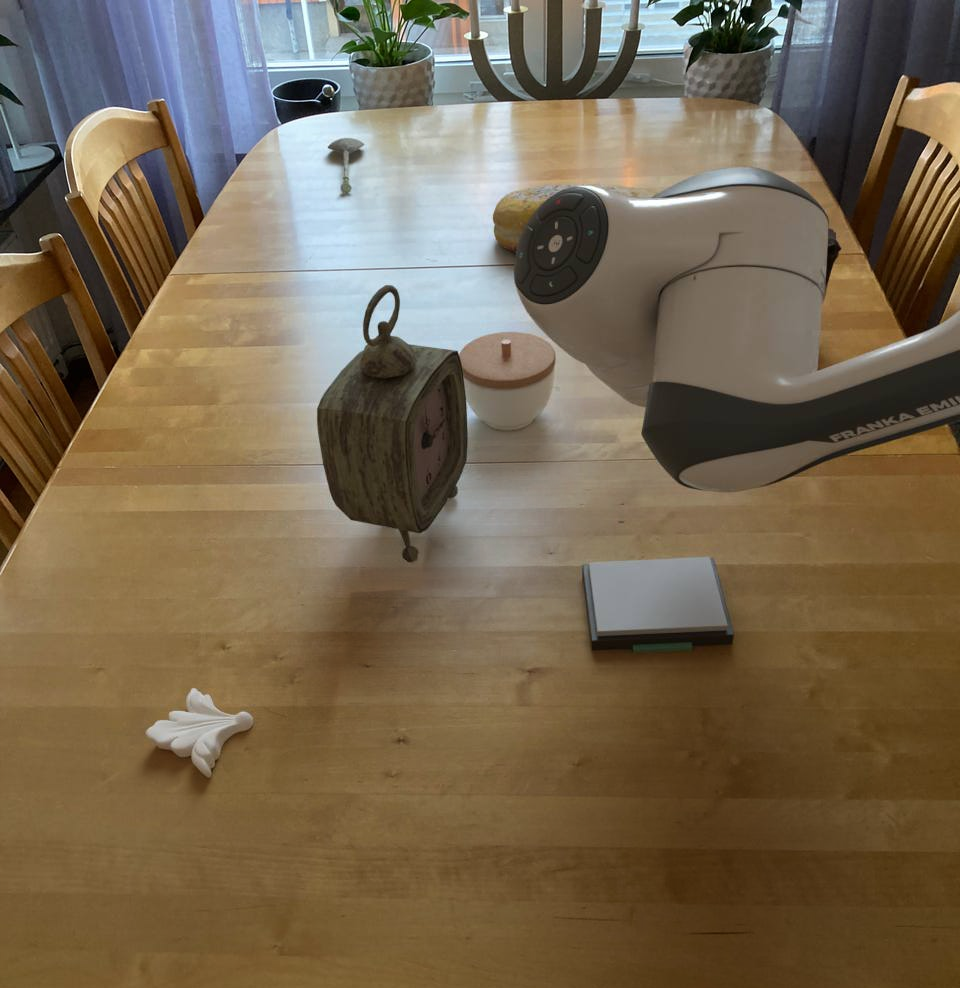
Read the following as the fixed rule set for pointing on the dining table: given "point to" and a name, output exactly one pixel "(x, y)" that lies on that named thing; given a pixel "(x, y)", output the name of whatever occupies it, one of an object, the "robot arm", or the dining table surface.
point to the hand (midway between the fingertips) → (713, 401)
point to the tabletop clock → (394, 431)
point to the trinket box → (508, 378)
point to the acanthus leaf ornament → (198, 731)
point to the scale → (655, 605)
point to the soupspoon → (346, 156)
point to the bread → (524, 203)
